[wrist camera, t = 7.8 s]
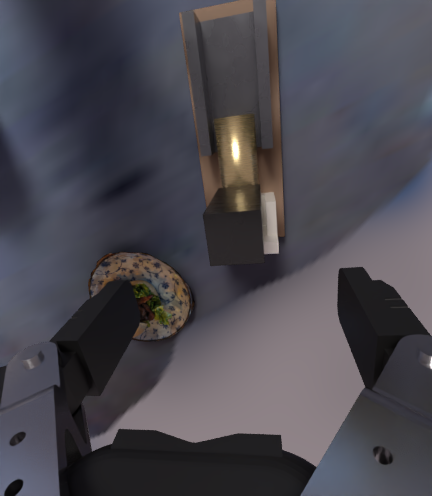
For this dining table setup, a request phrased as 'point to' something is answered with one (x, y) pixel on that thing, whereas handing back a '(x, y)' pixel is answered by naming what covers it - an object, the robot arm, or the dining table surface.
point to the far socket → (269, 223)
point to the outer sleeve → (229, 72)
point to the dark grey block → (236, 196)
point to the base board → (271, 157)
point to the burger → (148, 292)
